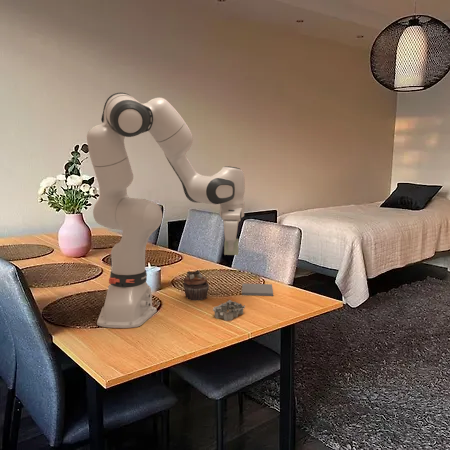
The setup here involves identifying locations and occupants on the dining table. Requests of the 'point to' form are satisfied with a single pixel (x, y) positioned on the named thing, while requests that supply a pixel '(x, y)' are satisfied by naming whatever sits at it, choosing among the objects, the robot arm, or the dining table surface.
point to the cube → (235, 251)
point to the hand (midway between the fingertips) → (231, 249)
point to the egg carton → (232, 308)
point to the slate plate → (257, 289)
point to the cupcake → (195, 286)
